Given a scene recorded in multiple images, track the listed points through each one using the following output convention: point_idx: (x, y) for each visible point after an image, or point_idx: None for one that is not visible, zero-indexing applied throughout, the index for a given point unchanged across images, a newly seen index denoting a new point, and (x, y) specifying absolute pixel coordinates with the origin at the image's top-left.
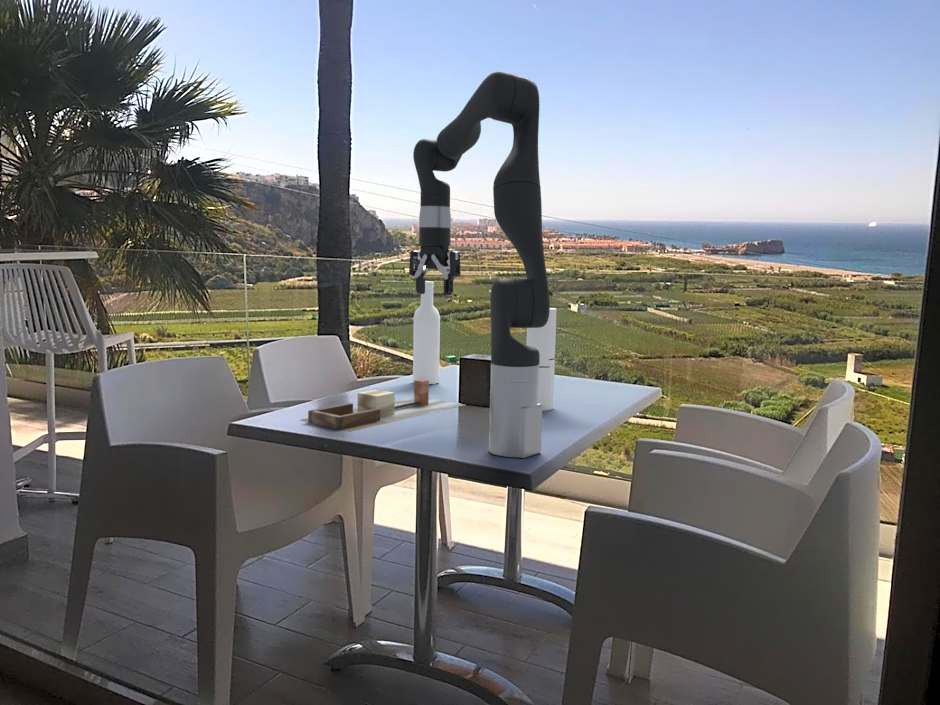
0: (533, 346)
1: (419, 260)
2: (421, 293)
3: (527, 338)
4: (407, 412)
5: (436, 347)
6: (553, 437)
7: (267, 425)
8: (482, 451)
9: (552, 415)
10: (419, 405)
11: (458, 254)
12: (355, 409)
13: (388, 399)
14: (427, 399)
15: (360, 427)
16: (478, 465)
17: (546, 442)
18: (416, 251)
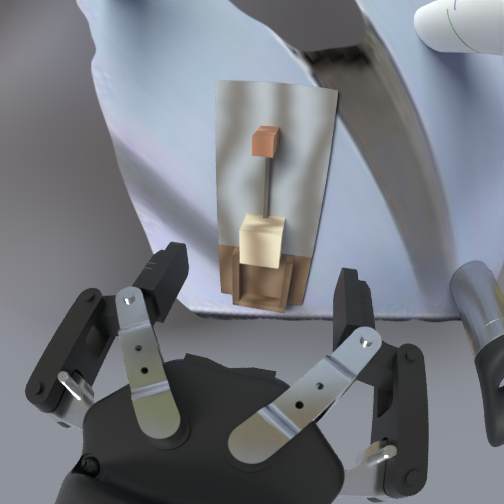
0: (501, 53)
1: (68, 361)
2: (187, 261)
3: (493, 35)
4: (293, 199)
5: None
6: (500, 210)
7: (207, 305)
8: (444, 289)
9: (477, 81)
10: None
11: (418, 475)
12: (220, 223)
13: (281, 242)
14: (278, 131)
15: (299, 290)
16: (446, 318)
17: (495, 233)
18: (66, 423)
